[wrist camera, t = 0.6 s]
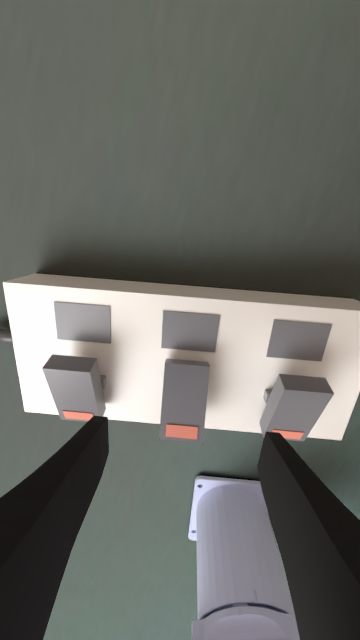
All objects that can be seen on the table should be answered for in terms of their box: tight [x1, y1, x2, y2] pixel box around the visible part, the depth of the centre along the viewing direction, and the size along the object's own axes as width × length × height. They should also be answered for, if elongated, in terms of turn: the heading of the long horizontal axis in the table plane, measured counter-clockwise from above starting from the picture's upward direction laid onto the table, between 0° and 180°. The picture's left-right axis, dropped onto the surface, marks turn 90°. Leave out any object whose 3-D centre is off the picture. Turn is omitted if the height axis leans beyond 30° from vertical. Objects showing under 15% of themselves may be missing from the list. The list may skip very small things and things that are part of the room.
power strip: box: [0, 273, 360, 440], centre depth 18 cm, size 10×28×4 cm, turn 86°
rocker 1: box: [42, 354, 106, 422], centre depth 16 cm, size 5×3×1 cm, turn 176°
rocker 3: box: [259, 374, 334, 441], centre depth 16 cm, size 5×3×1 cm, turn 176°
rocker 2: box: [159, 358, 210, 444], centre depth 16 cm, size 5×3×1 cm, turn 176°
